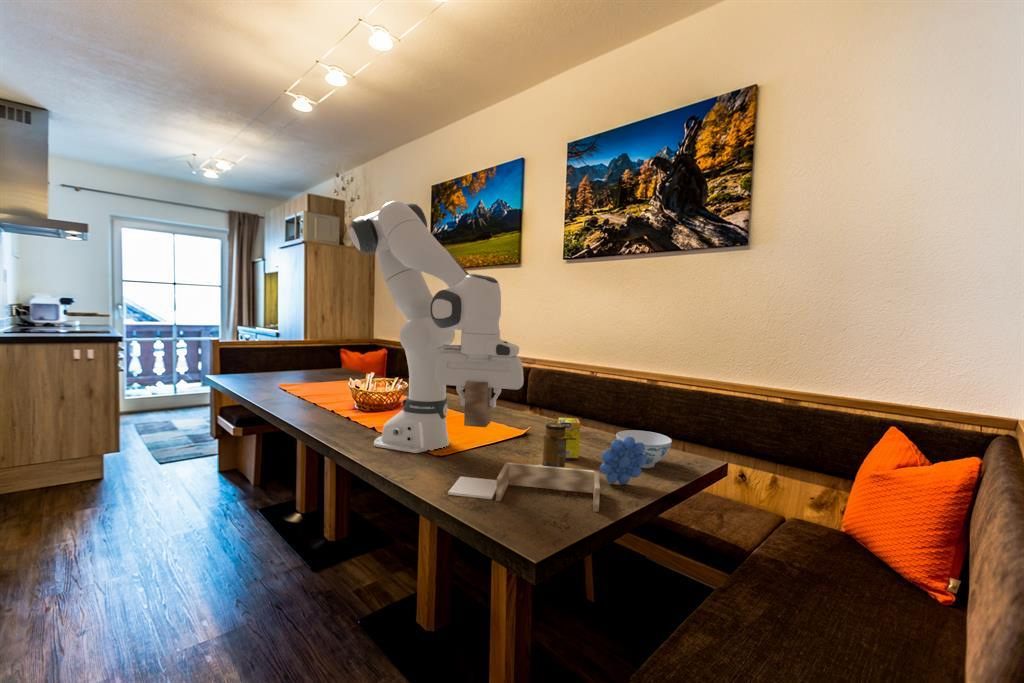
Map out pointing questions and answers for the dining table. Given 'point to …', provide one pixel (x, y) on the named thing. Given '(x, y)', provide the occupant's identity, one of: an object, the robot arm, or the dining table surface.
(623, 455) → the grapes
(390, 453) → the dining table surface
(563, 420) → the supplement box
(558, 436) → the condiment
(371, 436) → the dining table surface
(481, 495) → the coaster
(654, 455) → the chinaware
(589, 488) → the u-shaped barrier
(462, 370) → the robot arm
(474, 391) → the walnut block
